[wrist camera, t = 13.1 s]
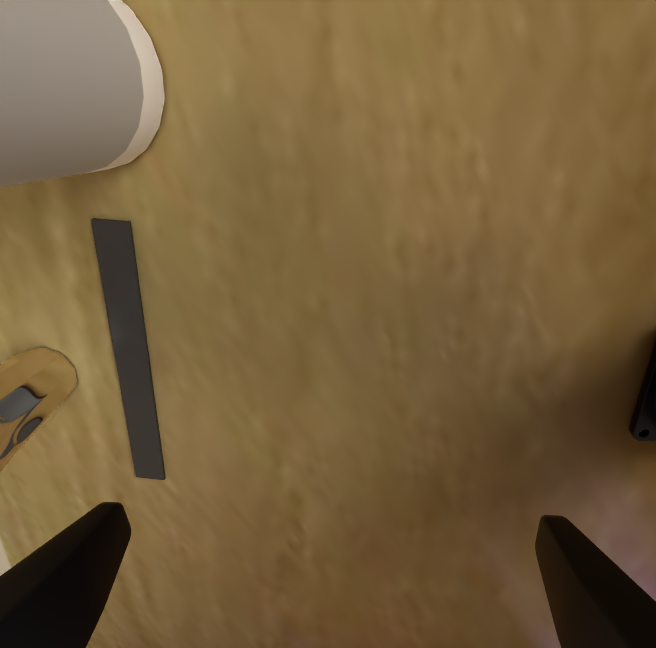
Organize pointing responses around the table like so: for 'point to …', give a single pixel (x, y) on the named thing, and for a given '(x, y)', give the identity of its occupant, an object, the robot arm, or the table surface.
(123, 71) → the spray bottle
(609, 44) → the table surface
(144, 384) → the tape line
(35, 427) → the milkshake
